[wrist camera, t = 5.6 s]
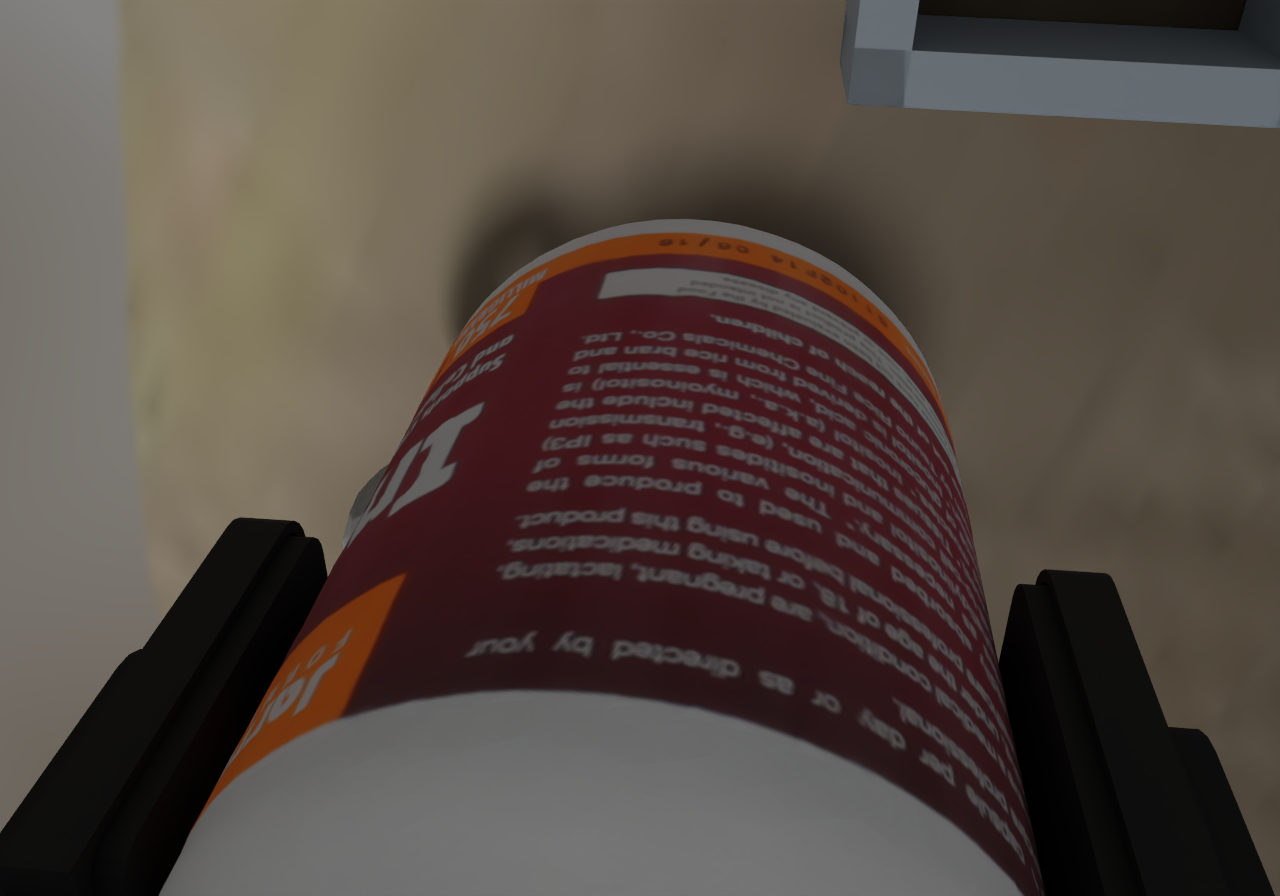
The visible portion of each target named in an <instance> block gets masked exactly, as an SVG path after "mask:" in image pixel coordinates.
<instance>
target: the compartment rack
mask: <svg viewBox="0 0 1280 896" xmlns="http://www.w3.org/2000/svg"><path fill="white" fill-rule="evenodd" d="M918 6H919V0H847V6H846V15H845V23H844V32H843V40H842V49H841V57H840V66H841V72H842V77H843V83H844V88H845V94H846V99H847V104H850V105H868V106H886V107H904V108H922V109H940V110H958V111H976V112H994V113H1013V114H1031V115H1049V116H1067V117H1085V118H1103V119H1121V120H1139V121H1157V122H1175V123H1193V124H1212V125H1230V126H1248V127H1266V128H1280V0H1247V1H1246V4H1245V8H1244V11H1243V15H1242V18H1241V22H1240V25H1239V28H1238V31H1234V30H1214V29H1194V28H1174V27H1155V26H1135V25H1115V24H1095V23H1075V22H1055V21H1035V20H1015V19H995V18H975V17H955V16H935V15H917V13H918Z"/></svg>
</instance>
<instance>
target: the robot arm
mask: <svg viewBox="0 0 1280 896" xmlns="http://www.w3.org/2000/svg"><path fill="white" fill-rule="evenodd" d="M327 578H328V576H327V570H326V564H325V559H324V553H323V549H322V545H321V543H320V541H319V540H318V539H317V538H314V537H305V534H304V530H303V528H302V527H301V525H300V524H299V523H298V522H295V521H287V520H272V519H256V518H241V517H240V518H237V519H234V520H233V521H232V522H231V523H230V524H229V525H228V526H227V528H226V529H225V531H224V532H223V534H222V535H221V537H220V538H219V539H218V541H217V542H216V544H215V545H214V547H213V548H212V550H211V551H210V552H209V554H208V555H207V557H206V558H205V560H204V561H203V562H202V564H201V565H200V567H199V568H198V570H197V571H196V573H195V574H194V575H193V577H192V578H191V580H190V581H189V583H188V584H187V585H186V587H185V588H184V590H183V591H182V593H181V594H180V596H179V597H178V598H177V600H176V601H175V603H174V604H173V606H172V607H171V609H170V610H169V611H168V613H167V614H166V616H165V617H164V619H163V620H162V621H161V623H160V624H159V626H158V627H157V629H156V630H155V632H154V633H153V634H152V636H151V637H150V639H149V640H148V642H147V643H146V645H145V646H144V647H143V649H139V650H137V651H135V652H133V653H131V654H129V655H128V656H127V657H126V658H125V659H124V661H123V662H122V663H121V664H120V665H119V666H118V667H117V669H116V670H115V671H114V673H113V674H112V676H111V677H110V679H109V680H108V681H107V683H106V684H105V686H104V687H103V688H102V690H101V691H100V693H99V694H98V695H97V697H96V698H95V700H94V701H93V703H92V704H91V705H90V707H89V708H88V710H87V711H86V712H85V714H84V715H83V717H82V718H81V719H80V721H79V722H78V724H77V725H76V727H75V728H74V730H73V731H72V732H71V734H70V735H69V736H68V738H67V739H66V741H65V742H64V744H63V745H62V746H61V748H60V749H59V751H58V752H57V753H56V755H55V756H54V758H53V759H52V761H51V762H50V763H49V765H48V766H47V768H46V769H45V770H44V772H43V773H42V775H41V776H40V778H39V779H38V780H37V782H36V783H35V785H34V786H33V788H32V789H31V790H30V792H29V793H28V794H27V796H26V797H25V799H24V800H23V802H22V803H21V804H20V806H19V807H18V809H17V810H16V811H15V813H14V814H13V816H12V817H11V818H10V820H9V821H8V823H7V824H6V825H5V827H4V828H3V830H2V831H1V833H0V896H159V894H160V892H161V890H162V888H163V886H164V884H165V882H166V880H167V879H168V877H169V875H170V873H171V871H172V869H173V867H174V865H175V864H176V862H177V860H178V858H179V856H180V854H181V852H182V849H183V847H184V845H185V843H186V840H187V838H188V836H189V833H190V831H191V830H192V828H193V826H194V824H195V822H196V821H197V819H198V817H199V815H200V813H201V812H202V810H203V808H204V806H205V804H206V803H207V801H208V799H209V797H210V795H211V794H212V792H213V790H214V788H215V786H216V784H217V782H218V780H219V779H220V777H221V775H222V773H223V771H224V769H225V767H226V765H227V764H228V762H229V760H230V758H231V756H232V754H233V752H234V751H235V749H236V747H237V745H238V744H239V742H240V740H241V738H242V737H243V735H244V733H245V732H246V730H247V728H248V726H249V724H250V722H251V720H252V718H253V717H254V715H255V713H256V711H257V709H258V707H259V705H260V703H261V702H262V700H263V698H264V696H265V694H266V692H267V690H268V689H269V687H270V685H271V683H272V681H273V680H274V678H275V676H276V674H277V672H278V671H279V669H280V667H281V665H282V663H283V661H284V659H285V657H286V655H287V654H288V652H289V650H290V648H291V646H292V644H293V642H294V640H295V639H296V637H297V635H298V634H299V632H300V630H301V628H302V627H303V625H304V623H305V621H306V619H307V617H308V615H309V613H310V611H311V609H312V607H313V605H314V603H315V601H316V599H317V597H318V595H319V593H320V591H321V590H322V588H323V586H324V584H325V582H326V580H327ZM999 669H1000V674H1001V678H1002V684H1003V689H1004V695H1005V700H1006V705H1007V710H1008V715H1009V719H1010V724H1011V729H1012V733H1013V738H1014V743H1015V747H1016V752H1017V757H1018V762H1019V767H1020V771H1021V776H1022V781H1023V786H1024V791H1025V796H1026V800H1027V805H1028V810H1029V814H1030V819H1031V824H1032V829H1033V833H1034V838H1035V843H1036V848H1037V853H1038V858H1039V864H1040V870H1041V875H1042V881H1043V885H1044V889H1045V893H1046V896H1275V895H1274V892H1273V890H1272V887H1271V885H1270V882H1269V880H1268V878H1267V875H1266V873H1265V870H1264V868H1263V865H1262V863H1261V861H1260V858H1259V856H1258V853H1257V851H1256V848H1255V846H1254V843H1253V841H1252V839H1251V836H1250V834H1249V831H1248V829H1247V826H1246V824H1245V821H1244V819H1243V817H1242V814H1241V812H1240V809H1239V807H1238V804H1237V802H1236V800H1235V797H1234V795H1233V792H1232V790H1231V787H1230V785H1229V782H1228V780H1227V778H1226V775H1225V773H1224V770H1223V768H1222V765H1221V763H1220V760H1219V758H1218V756H1217V753H1216V751H1215V749H1214V747H1213V746H1212V744H1211V742H1210V740H1209V738H1208V737H1207V736H1206V735H1205V734H1204V733H1203V732H1201V731H1200V730H1199V729H1188V728H1175V727H1168V725H1167V723H1166V720H1165V717H1164V715H1163V712H1162V709H1161V707H1160V704H1159V701H1158V699H1157V696H1156V693H1155V691H1154V688H1153V685H1152V683H1151V680H1150V677H1149V674H1148V672H1147V669H1146V666H1145V664H1144V661H1143V658H1142V656H1141V653H1140V650H1139V648H1138V645H1137V642H1136V640H1135V637H1134V634H1133V632H1132V629H1131V626H1130V623H1129V621H1128V618H1127V615H1126V613H1125V610H1124V607H1123V605H1122V602H1121V599H1120V597H1119V594H1118V591H1117V589H1116V586H1115V583H1114V581H1113V580H1112V578H1111V576H1110V575H1108V574H1106V573H1093V572H1077V571H1062V570H1047V569H1045V570H1043V571H1041V572H1040V574H1039V576H1038V578H1037V581H1036V584H1035V585H1029V584H1019V585H1017V587H1016V589H1015V591H1014V594H1013V598H1012V603H1011V608H1010V612H1009V617H1008V622H1007V626H1006V631H1005V636H1004V640H1003V645H1002V650H1001V654H1000V659H999Z"/></svg>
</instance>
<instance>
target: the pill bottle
mask: <svg viewBox="0 0 1280 896" xmlns="http://www.w3.org/2000/svg"><path fill="white" fill-rule="evenodd" d="M159 896H1046V893H1045V889H1044V885H1043V881H1042V875H1041V870H1040V864H1039V858H1038V853H1037V848H1036V843H1035V838H1034V833H1033V829H1032V824H1031V819H1030V814H1029V810H1028V805H1027V800H1026V796H1025V791H1024V786H1023V781H1022V776H1021V771H1020V767H1019V762H1018V757H1017V752H1016V747H1015V743H1014V738H1013V733H1012V729H1011V724H1010V719H1009V715H1008V710H1007V705H1006V700H1005V695H1004V689H1003V684H1002V678H1001V674H1000V669H999V664H998V659H997V654H996V650H995V645H994V640H993V635H992V630H991V625H990V620H989V615H988V610H987V605H986V600H985V596H984V591H983V586H982V581H981V576H980V571H979V566H978V562H977V557H976V552H975V547H974V542H973V536H972V530H971V525H970V520H969V516H968V511H967V507H966V503H965V499H964V494H963V490H962V485H961V480H960V476H959V471H958V465H957V459H956V454H955V450H954V445H953V440H952V436H951V431H950V427H949V424H948V420H947V417H946V414H945V411H944V408H943V405H942V402H941V398H940V395H939V392H938V390H937V387H936V384H935V381H934V379H933V376H932V374H931V372H930V370H929V367H928V365H927V363H926V361H925V359H924V357H923V355H922V353H921V351H920V350H919V348H918V346H917V345H916V343H915V342H914V340H913V338H912V337H911V335H910V334H909V332H908V331H907V330H906V328H905V327H904V326H903V325H902V323H901V322H900V321H899V319H898V318H897V317H896V316H895V314H894V313H893V312H892V311H891V310H890V309H889V308H888V307H887V306H886V305H885V304H884V303H883V302H882V301H881V300H880V299H879V298H878V297H877V296H876V295H875V294H874V293H873V292H872V291H871V290H870V289H869V288H868V287H867V286H865V285H864V284H863V283H862V282H861V281H859V280H858V279H857V278H856V277H854V276H853V275H852V274H850V273H849V272H848V271H846V270H845V269H843V268H842V267H841V266H839V265H838V264H836V263H834V262H833V261H831V260H829V259H827V258H826V257H824V256H822V255H821V254H819V253H817V252H815V251H813V250H810V249H808V248H806V247H804V246H802V245H800V244H798V243H795V242H793V241H790V240H787V239H784V238H782V237H779V236H776V235H773V234H770V233H767V232H763V231H760V230H756V229H753V228H749V227H746V226H741V225H737V224H730V223H724V222H718V221H709V220H695V219H660V220H651V221H642V222H634V223H628V224H623V225H619V226H614V227H610V228H606V229H603V230H600V231H597V232H594V233H591V234H588V235H585V236H582V237H579V238H576V239H573V240H571V241H569V242H567V243H565V244H563V245H561V246H559V247H557V248H555V249H553V250H551V251H549V252H547V253H545V254H543V255H541V256H540V257H538V258H536V259H535V260H533V261H532V262H530V263H529V264H527V265H525V266H524V267H522V268H521V269H519V270H518V271H517V272H515V273H514V274H513V275H511V276H510V277H509V278H508V279H507V280H506V281H505V282H504V283H502V284H501V285H500V286H499V287H498V288H497V289H496V290H495V291H493V292H492V293H491V294H490V295H489V296H488V297H487V299H486V300H485V301H484V302H483V303H482V304H481V305H480V307H479V308H478V309H477V310H476V312H475V313H474V314H473V316H472V317H471V318H470V319H469V321H468V322H467V324H466V325H465V327H464V328H463V330H462V331H461V333H460V335H459V336H458V338H457V339H456V340H455V342H454V343H453V345H452V347H451V348H450V350H449V352H448V354H447V355H446V357H445V359H444V360H443V362H442V364H441V366H440V368H439V370H438V372H437V373H436V375H435V377H434V379H433V381H432V382H431V384H430V386H429V388H428V390H427V392H426V393H425V396H424V398H423V400H422V401H421V403H420V405H419V407H418V409H417V412H416V414H415V416H414V418H413V420H412V422H411V424H410V426H409V428H408V430H407V432H406V434H405V436H404V437H403V439H402V441H401V443H400V445H399V446H398V449H397V451H396V453H395V455H394V456H393V458H392V460H391V462H390V464H389V466H388V468H387V470H386V471H385V473H384V475H383V477H382V479H381V481H380V483H379V484H378V486H377V488H376V490H375V492H374V494H373V496H372V498H371V499H370V501H369V503H368V505H367V507H366V509H365V511H364V512H363V514H362V516H361V517H360V519H359V521H358V522H357V524H356V526H355V528H354V530H353V532H352V534H351V536H350V538H349V540H348V542H347V544H346V546H345V548H344V549H343V551H342V553H341V555H340V556H339V558H338V560H337V561H336V563H335V564H334V566H333V568H332V570H331V572H330V574H329V576H328V578H327V580H326V582H325V584H324V586H323V588H322V590H321V591H320V593H319V595H318V597H317V599H316V601H315V603H314V605H313V607H312V609H311V611H310V613H309V615H308V617H307V619H306V621H305V623H304V625H303V627H302V628H301V630H300V632H299V634H298V635H297V637H296V639H295V640H294V642H293V644H292V646H291V648H290V650H289V652H288V654H287V655H286V657H285V659H284V661H283V663H282V665H281V667H280V669H279V671H278V672H277V674H276V676H275V678H274V680H273V681H272V683H271V685H270V687H269V689H268V690H267V692H266V694H265V696H264V698H263V700H262V702H261V703H260V705H259V707H258V709H257V711H256V713H255V715H254V717H253V718H252V720H251V722H250V724H249V726H248V728H247V730H246V732H245V733H244V735H243V737H242V738H241V740H240V742H239V744H238V745H237V747H236V749H235V751H234V752H233V754H232V756H231V758H230V760H229V762H228V764H227V765H226V767H225V769H224V771H223V773H222V775H221V777H220V779H219V780H218V782H217V784H216V786H215V788H214V790H213V792H212V794H211V795H210V797H209V799H208V801H207V803H206V804H205V806H204V808H203V810H202V812H201V813H200V815H199V817H198V819H197V821H196V822H195V824H194V826H193V828H192V830H191V831H190V833H189V836H188V838H187V840H186V843H185V845H184V847H183V849H182V852H181V854H180V856H179V858H178V860H177V862H176V864H175V865H174V867H173V869H172V871H171V873H170V875H169V877H168V879H167V880H166V882H165V884H164V886H163V888H162V890H161V892H160V894H159Z"/></svg>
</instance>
